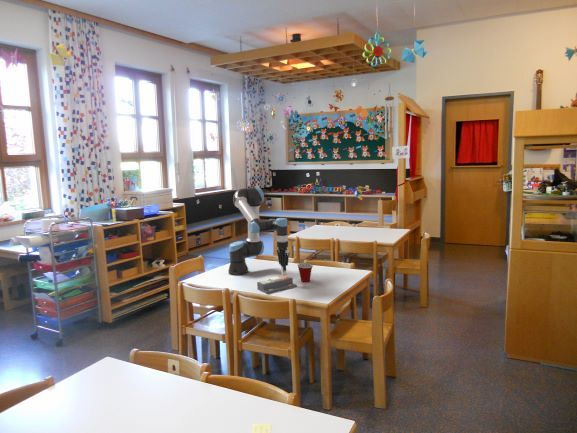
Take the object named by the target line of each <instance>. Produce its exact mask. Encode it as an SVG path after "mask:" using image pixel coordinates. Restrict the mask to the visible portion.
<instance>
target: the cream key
mask: <svg viewBox="0 0 577 433" xmlns="http://www.w3.org/2000/svg"><path fill="white" fill-rule="evenodd" d="M279 277H280V276H273V277H269V278H268V280H269V281H272V282H277V281H281V278H279Z"/></svg>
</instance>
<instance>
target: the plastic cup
mask: <svg viewBox="0 0 577 433" xmlns="http://www.w3.org/2000/svg"><path fill="white" fill-rule="evenodd" d="M313 267H314V265H313V264H311V263H307V262H302V263H301V262H300V263H298V264H297V268H298V272H299V273H298V274H299V277H300V280H301V281H300V282H301V283H310V281H311V276H312V269H313Z"/></svg>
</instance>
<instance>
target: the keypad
mask: <svg viewBox="0 0 577 433" xmlns="http://www.w3.org/2000/svg"><path fill="white" fill-rule="evenodd" d="M289 277H290V278H289V279H285V280H282V279H281V281H277V282H272V281H271V282H272V283H268V284H262V283H259V282H260V281H257V282H256V283H257V284H256V285H257V286H256V288H257V290H258V291H260V292H262V293H263V294H265V295H266V294H267V295H269V294H273V293H277V292H281V291H285V290H289V289H293V288H296V287H298V285H297V283H294V279H293V277H291V276H289Z"/></svg>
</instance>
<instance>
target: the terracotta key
mask: <svg viewBox="0 0 577 433" xmlns="http://www.w3.org/2000/svg"><path fill="white" fill-rule="evenodd" d="M278 277H279V278H281V279H282V280H285V279H289V278H290V277H291V276H288V275H284V276H282V275H281V276H278Z"/></svg>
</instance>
